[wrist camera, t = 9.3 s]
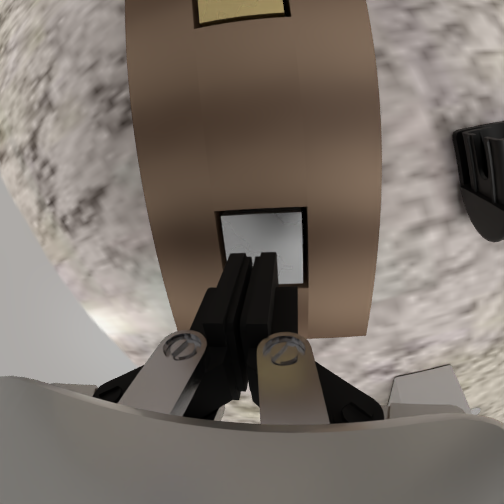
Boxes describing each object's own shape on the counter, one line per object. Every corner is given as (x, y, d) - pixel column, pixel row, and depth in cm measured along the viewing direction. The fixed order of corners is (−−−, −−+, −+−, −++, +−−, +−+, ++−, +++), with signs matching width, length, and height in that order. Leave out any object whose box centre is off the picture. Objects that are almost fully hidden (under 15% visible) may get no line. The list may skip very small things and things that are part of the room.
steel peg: (238, 190, 20) (220, 216, 15) (297, 187, 19) (301, 212, 14) (244, 244, 21) (230, 284, 16) (300, 242, 21) (303, 283, 16)
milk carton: (435, 399, 28) (468, 527, 11) (385, 411, 29) (403, 550, 12) (450, 363, 25) (501, 509, 8) (394, 376, 26) (426, 542, 9)
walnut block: (164, -26, 13) (127, -58, 8) (328, -46, 11) (339, -89, 6) (202, 288, 24) (179, 336, 19) (350, 285, 22) (365, 335, 17)
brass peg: (218, -2, 14) (195, -35, 9) (278, -8, 13) (274, -47, 8) (223, 47, 15) (199, 23, 11) (285, 40, 15) (284, 12, 10)
